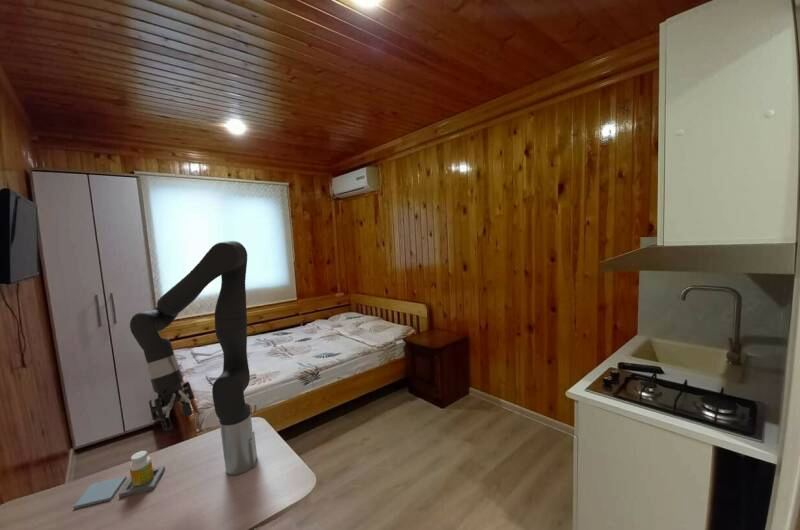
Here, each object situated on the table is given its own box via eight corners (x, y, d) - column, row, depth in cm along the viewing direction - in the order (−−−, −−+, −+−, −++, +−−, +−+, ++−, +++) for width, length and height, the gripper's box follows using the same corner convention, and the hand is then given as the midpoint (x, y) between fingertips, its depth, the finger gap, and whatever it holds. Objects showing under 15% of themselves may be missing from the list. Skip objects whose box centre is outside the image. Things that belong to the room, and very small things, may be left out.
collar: (165, 469, 109) (164, 466, 109) (153, 489, 100) (153, 485, 100) (133, 476, 106) (133, 473, 106) (119, 497, 98) (118, 494, 98)
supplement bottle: (142, 490, 100) (137, 461, 99) (128, 488, 101) (123, 460, 100) (158, 477, 105) (154, 449, 104) (144, 475, 106) (140, 448, 105)
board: (126, 478, 106) (125, 475, 106) (111, 499, 97) (110, 497, 97) (92, 485, 103) (92, 483, 103) (73, 508, 95) (73, 506, 94)
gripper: (158, 378, 93) (173, 432, 93) (191, 362, 108) (205, 409, 108) (134, 384, 94) (149, 438, 94) (170, 368, 108) (184, 414, 108)
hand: (179, 422), depth 101 cm, fingers open, 8 cm apart
